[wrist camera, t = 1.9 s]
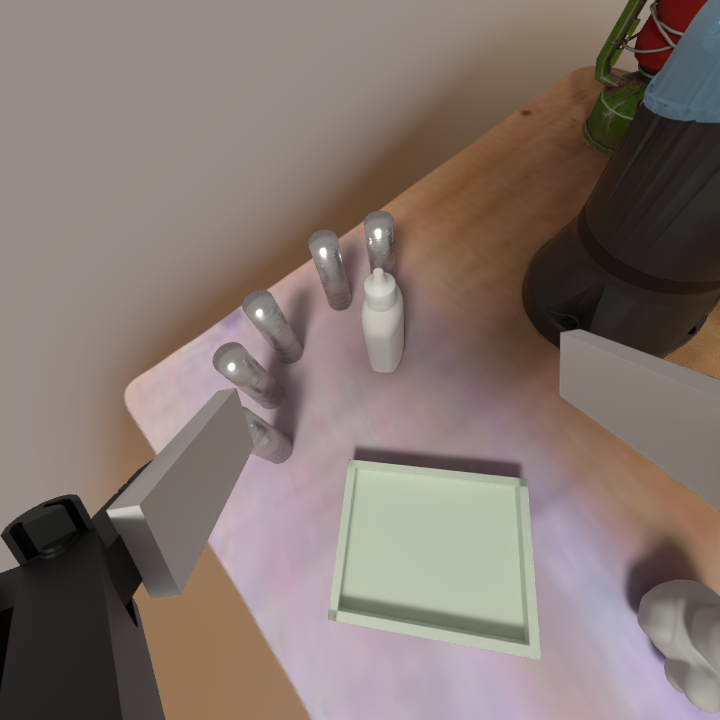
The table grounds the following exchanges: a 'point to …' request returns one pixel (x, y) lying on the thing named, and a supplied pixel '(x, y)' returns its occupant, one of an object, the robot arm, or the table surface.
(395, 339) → the eye dropper bottle
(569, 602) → the table surface
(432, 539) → the tray
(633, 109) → the lantern
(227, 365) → the spacers
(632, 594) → the table surface
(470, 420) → the table surface
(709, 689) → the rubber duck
